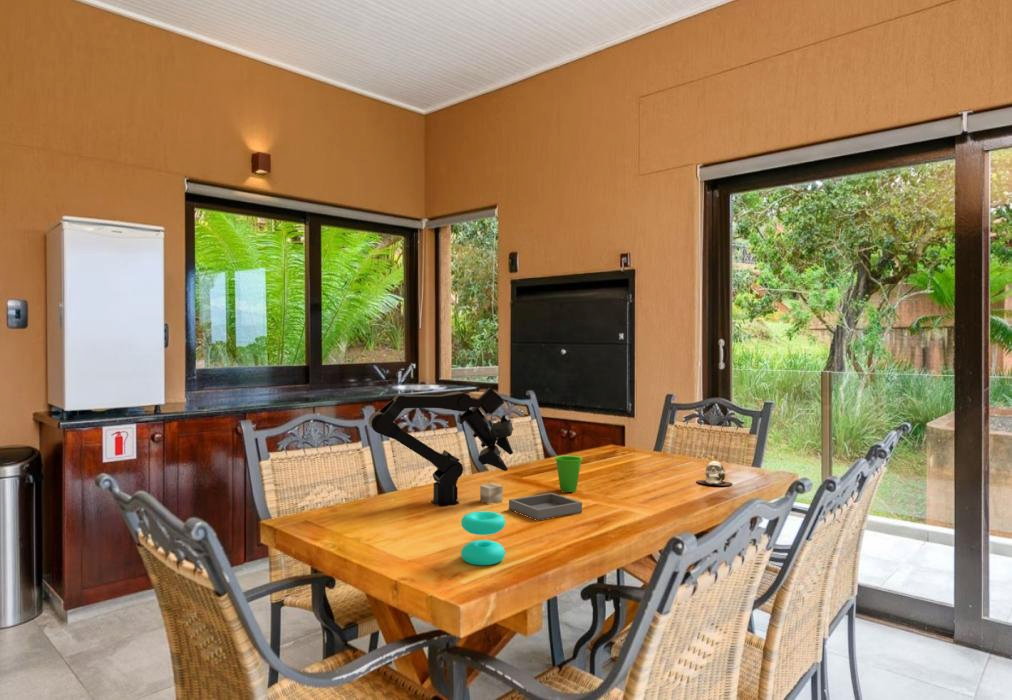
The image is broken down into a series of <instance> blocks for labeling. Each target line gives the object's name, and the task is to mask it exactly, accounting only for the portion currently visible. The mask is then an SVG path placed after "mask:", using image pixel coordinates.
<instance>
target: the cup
mask: <svg viewBox="0 0 1012 700" xmlns="http://www.w3.org/2000/svg"><path fill="white" fill-rule="evenodd" d="M554 459H555V462H556V469H557V476H558V481H559V489H560V491H563V492H562V493H565V492H573V493H576V492H575V491H577V488H578V481H579V478H580V477H579V476H580V469H581V465H582V464H581V463H582V460H583V457H582V456H576V455H557V456H555V457H554Z"/></svg>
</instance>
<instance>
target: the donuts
mask: <svg viewBox="0 0 1012 700" xmlns="http://www.w3.org/2000/svg"><path fill="white" fill-rule="evenodd" d="M460 522H461V525H460V526H461V527H462V528H463V530H464V531H466V533H470V534H472V535H475V536H477V535H478V536H488V535H489V536H490V535H493V534H497V533H499V532H501V531H502V530H503V529H504V528H505V526H506V518H505V517H504V516H503V515H502V514H501V513H499V512H498V513H497V512H496V511H495V512H494V511H489V510H488V511H487V510H483V511H482V510H481V511H479V510H478V511H473V512H470V513H467V514H465V515H464V516H463V517H462V518H461V521H460ZM460 555H461V559H462V560H464V562H466V563H468V564H470V565H474V566H492V565H495V564H498V563H500V562H501V561H503V560H504V559H505V556H506V551H505V548H504V546H503V545H502V544H500V543H499V542H497V541H494V540H489V539H479V540H473V541H470V542H469V543H468V542H467V544H465V545H464V546H463V547H462V549H461V552H460Z"/></svg>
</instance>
